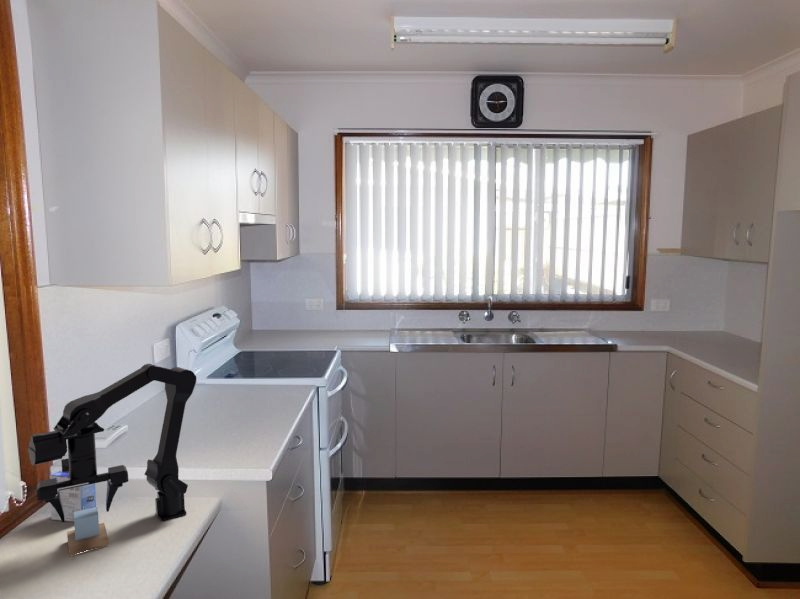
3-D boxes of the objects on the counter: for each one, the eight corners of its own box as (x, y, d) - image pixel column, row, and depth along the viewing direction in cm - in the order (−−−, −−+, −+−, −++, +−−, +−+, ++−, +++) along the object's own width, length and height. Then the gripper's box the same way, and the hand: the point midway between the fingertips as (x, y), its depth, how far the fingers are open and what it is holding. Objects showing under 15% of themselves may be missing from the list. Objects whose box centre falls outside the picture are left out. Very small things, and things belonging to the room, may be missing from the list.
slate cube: (98, 526, 136) (97, 506, 136) (99, 534, 132) (98, 514, 131) (75, 531, 134) (73, 512, 133) (75, 540, 129) (74, 520, 129)
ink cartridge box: (98, 513, 148) (95, 461, 147) (82, 523, 143) (79, 469, 142) (67, 510, 150) (64, 459, 149) (50, 520, 145) (47, 467, 144)
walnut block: (104, 533, 138) (104, 522, 138) (108, 547, 132) (107, 535, 131) (67, 543, 134) (67, 531, 134) (69, 558, 127) (68, 546, 127)
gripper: (121, 436, 143) (124, 494, 144) (35, 451, 133) (40, 513, 134) (127, 449, 133) (130, 510, 135) (35, 465, 123) (39, 532, 124)
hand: (85, 516), depth 132 cm, fingers open, 9 cm apart
